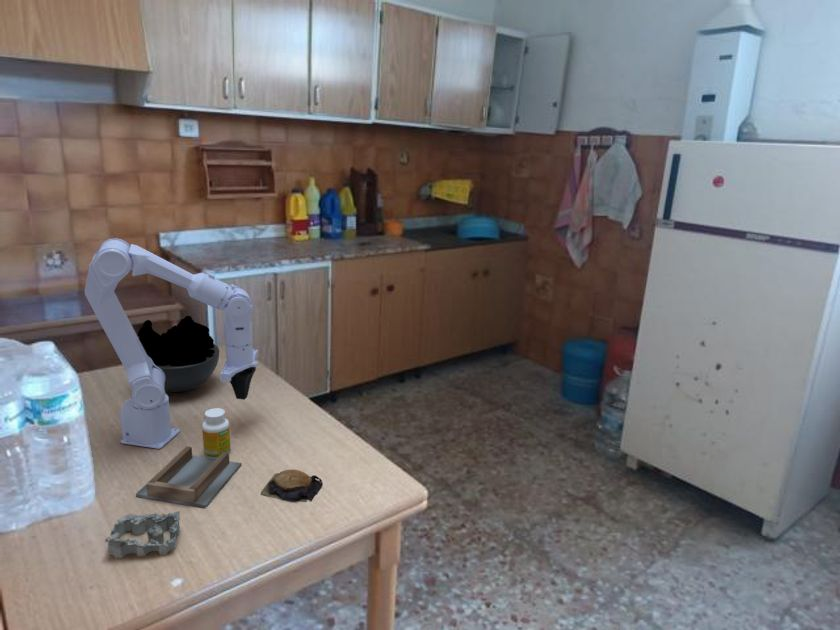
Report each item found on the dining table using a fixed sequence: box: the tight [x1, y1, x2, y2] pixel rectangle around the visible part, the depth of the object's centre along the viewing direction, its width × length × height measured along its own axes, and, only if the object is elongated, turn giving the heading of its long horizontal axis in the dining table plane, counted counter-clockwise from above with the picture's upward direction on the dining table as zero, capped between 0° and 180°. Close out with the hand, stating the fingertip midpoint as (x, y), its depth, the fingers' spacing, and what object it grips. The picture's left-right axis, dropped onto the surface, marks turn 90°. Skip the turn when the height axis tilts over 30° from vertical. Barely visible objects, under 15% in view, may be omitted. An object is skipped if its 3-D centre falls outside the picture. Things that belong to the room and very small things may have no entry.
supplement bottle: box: [201, 407, 231, 459], centre depth 122 cm, size 5×5×10 cm
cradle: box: [135, 446, 242, 509], centre depth 114 cm, size 14×14×3 cm
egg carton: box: [104, 510, 181, 560], centre depth 97 cm, size 11×8×4 cm
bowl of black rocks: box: [136, 315, 220, 393], centre depth 149 cm, size 20×20×19 cm
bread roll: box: [260, 468, 323, 503], centre depth 113 cm, size 11×8×4 cm
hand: (241, 397), depth 133 cm, fingers closed
